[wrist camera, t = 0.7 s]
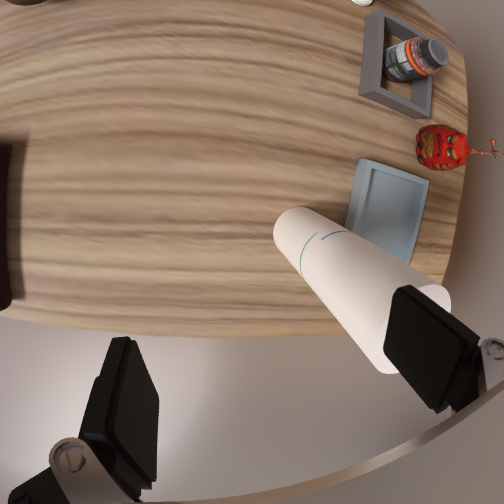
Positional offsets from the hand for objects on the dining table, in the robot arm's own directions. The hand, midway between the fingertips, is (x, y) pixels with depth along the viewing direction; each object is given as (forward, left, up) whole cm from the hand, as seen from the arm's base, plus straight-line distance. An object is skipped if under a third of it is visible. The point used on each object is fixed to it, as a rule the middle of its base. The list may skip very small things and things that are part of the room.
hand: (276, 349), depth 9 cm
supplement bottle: (-27, +23, -29) cm, 45 cm away
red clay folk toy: (-15, +32, -29) cm, 46 cm away
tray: (-2, +25, -29) cm, 38 cm away
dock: (-27, +23, -29) cm, 45 cm away
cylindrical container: (+2, +12, -29) cm, 32 cm away
